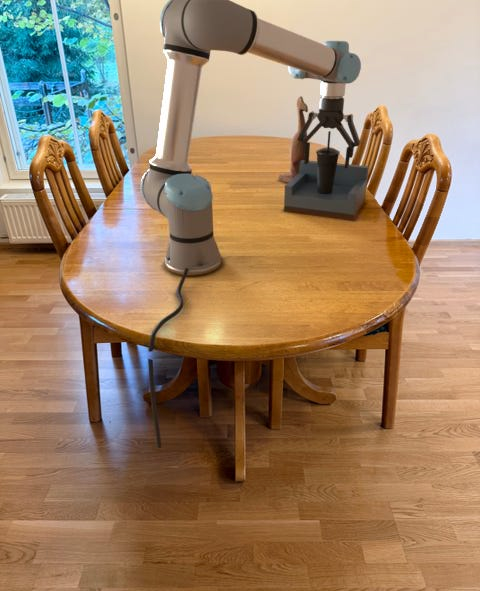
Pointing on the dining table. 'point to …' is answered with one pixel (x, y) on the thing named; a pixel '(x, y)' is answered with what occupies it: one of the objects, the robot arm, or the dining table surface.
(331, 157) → the drinking cup
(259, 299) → the dining table surface
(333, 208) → the sofa
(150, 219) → the dining table surface
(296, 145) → the bird sculpture
